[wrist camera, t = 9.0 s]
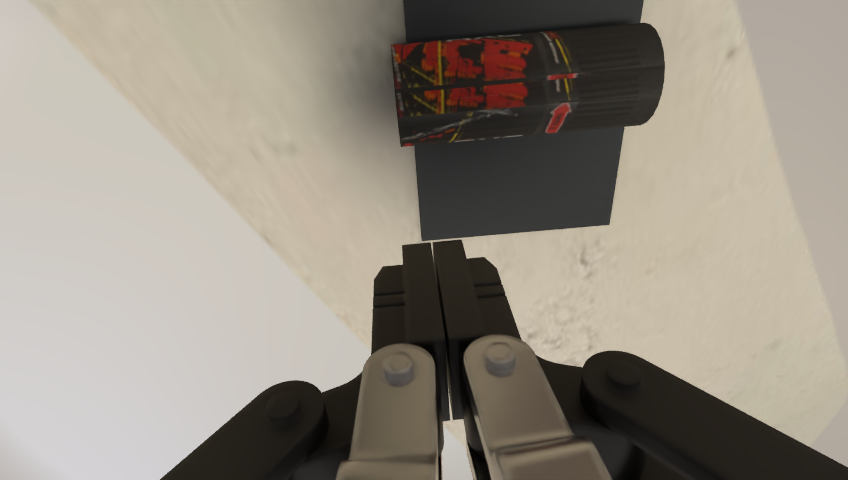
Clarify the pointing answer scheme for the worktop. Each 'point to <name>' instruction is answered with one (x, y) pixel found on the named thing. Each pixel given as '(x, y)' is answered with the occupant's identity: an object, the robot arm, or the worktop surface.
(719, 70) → the worktop surface
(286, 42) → the worktop surface
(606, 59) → the deodorant
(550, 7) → the mat
